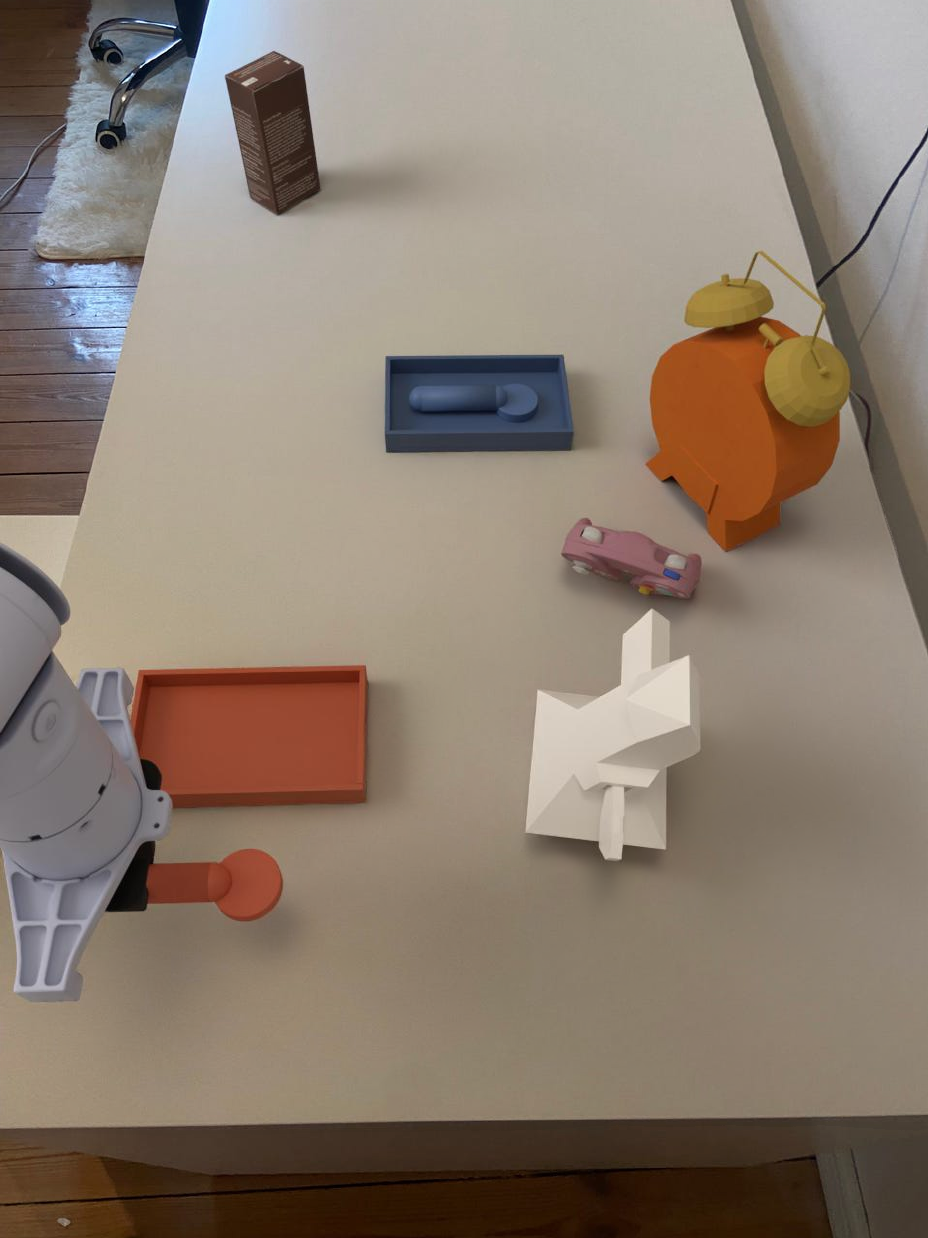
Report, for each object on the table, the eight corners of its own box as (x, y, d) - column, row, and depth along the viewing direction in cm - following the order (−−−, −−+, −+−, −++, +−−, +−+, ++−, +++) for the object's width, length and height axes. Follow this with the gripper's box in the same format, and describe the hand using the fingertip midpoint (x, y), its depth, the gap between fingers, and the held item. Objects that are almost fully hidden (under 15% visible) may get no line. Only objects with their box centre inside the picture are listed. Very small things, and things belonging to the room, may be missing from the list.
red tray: (126, 809, 60) (117, 796, 58) (146, 685, 65) (138, 669, 63) (365, 802, 60) (363, 789, 59) (367, 680, 65) (365, 664, 63)
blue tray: (385, 452, 77) (384, 433, 75) (386, 374, 81) (385, 355, 80) (571, 450, 77) (574, 431, 75) (560, 373, 82) (563, 354, 80)
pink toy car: (557, 576, 72) (551, 557, 65) (577, 519, 73) (574, 495, 66) (685, 619, 70) (693, 604, 63) (705, 560, 71) (715, 540, 64)
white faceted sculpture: (517, 890, 58) (538, 801, 46) (535, 686, 65) (557, 567, 54) (658, 907, 57) (714, 823, 46) (660, 701, 65) (708, 584, 53)
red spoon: (73, 926, 49) (60, 915, 47) (86, 857, 51) (74, 844, 49) (280, 921, 49) (275, 910, 48) (285, 853, 51) (280, 840, 50)
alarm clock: (800, 535, 73) (908, 324, 56) (737, 568, 71) (829, 359, 54) (691, 424, 79) (760, 203, 62) (631, 451, 77) (685, 231, 60)
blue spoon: (409, 423, 78) (408, 405, 76) (409, 392, 80) (408, 373, 78) (539, 422, 78) (541, 404, 76) (535, 390, 80) (537, 372, 78)
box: (291, 172, 97) (274, 47, 87) (321, 191, 95) (308, 65, 85) (245, 197, 94) (221, 72, 84) (275, 217, 93) (255, 91, 83)
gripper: (110, 961, 34) (193, 1032, 45) (166, 615, 42) (224, 750, 53) (-95, 966, 34) (40, 1037, 45) (0, 617, 41) (94, 752, 53)
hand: (130, 882), depth 49 cm, fingers closed on red spoon, 2 cm apart
